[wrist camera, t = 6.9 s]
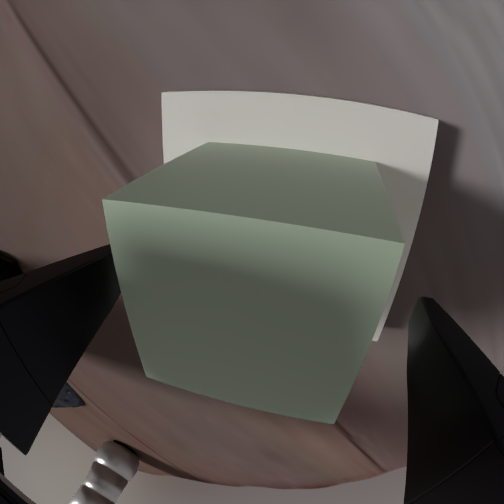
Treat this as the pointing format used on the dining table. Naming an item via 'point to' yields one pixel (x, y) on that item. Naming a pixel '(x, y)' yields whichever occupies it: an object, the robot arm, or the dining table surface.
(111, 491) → the plastic bottle
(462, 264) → the dining table surface
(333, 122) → the tile
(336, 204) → the cube
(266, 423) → the dining table surface
